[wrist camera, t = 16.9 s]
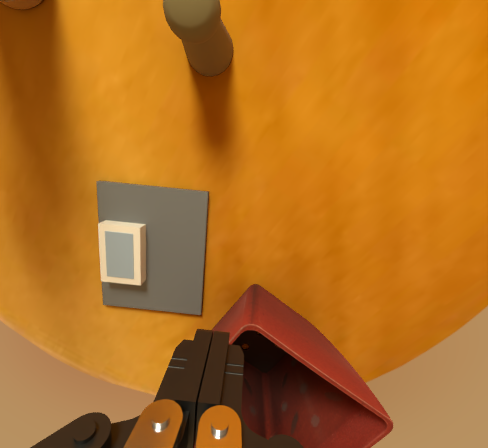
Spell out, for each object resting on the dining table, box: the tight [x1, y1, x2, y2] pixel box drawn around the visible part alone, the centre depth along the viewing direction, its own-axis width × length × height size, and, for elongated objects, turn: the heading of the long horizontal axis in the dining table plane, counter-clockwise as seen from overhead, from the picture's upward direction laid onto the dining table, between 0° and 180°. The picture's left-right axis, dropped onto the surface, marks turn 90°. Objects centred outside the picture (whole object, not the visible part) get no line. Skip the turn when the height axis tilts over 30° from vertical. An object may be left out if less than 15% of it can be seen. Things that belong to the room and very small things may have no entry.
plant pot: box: [194, 284, 393, 448], centre depth 35 cm, size 19×19×17 cm
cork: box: [163, 0, 233, 76], centre depth 27 cm, size 6×6×11 cm
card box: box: [98, 220, 146, 286], centre depth 38 cm, size 9×2×6 cm
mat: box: [97, 181, 209, 315], centre depth 39 cm, size 20×16×1 cm
